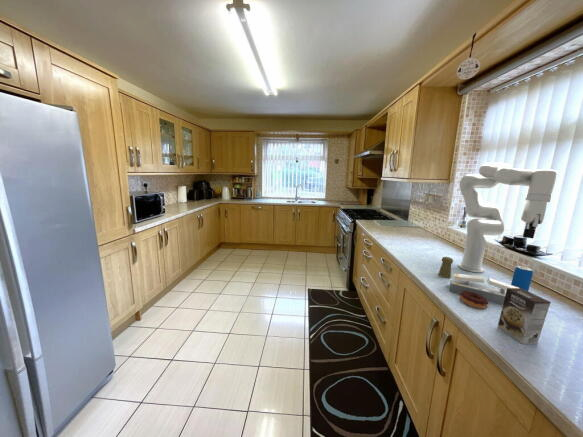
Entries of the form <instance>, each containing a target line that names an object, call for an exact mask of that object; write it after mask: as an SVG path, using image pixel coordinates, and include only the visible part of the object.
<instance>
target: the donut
mask: <svg viewBox="0 0 583 437" xmlns="http://www.w3.org/2000/svg"><path fill="white" fill-rule="evenodd" d="M459 299H460V300H461V301H462V302H463V303H464V304H465V305H467V306H470V307H471V308H475V309H486V308H488V305H489V301H487V299H485V298H484V297H482V296H481V295H479V294H477V293H474V292H469V291H463V292H462V293H461V294H459Z"/></svg>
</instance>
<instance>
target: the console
mask: <svg viewBox="0 0 583 437" xmlns="http://www.w3.org/2000/svg"><path fill="white" fill-rule="evenodd" d="M449 291H450V292H452V293H456V294H459V295H460V294H461V293H462V292H463V291H469V292H474V293H477V294H479V295H481V296H482V297H484V298H485V299H487V301H488V302H491V303H496V304H499V305H502V306H503V303H504V299H505V295H506V291H507V290H504V289H501V288H498V287H494V286H493V287H492V286H488V285H485V284H480V283H477V282H469V281H460V280H455V278H453V277H451V278H450V281H449Z"/></svg>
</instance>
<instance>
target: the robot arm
mask: <svg viewBox="0 0 583 437" xmlns="http://www.w3.org/2000/svg"><path fill="white" fill-rule="evenodd" d="M557 177H558V171H557V170H556V169H555V170H554V169H526V168H525V169H523V168H513V167H512V166H511V165H510V164H508V163H505V162H486V163H484V164H482V165H480V166H479V168H478V174H477V173H470V174H465V175H463V176H462V177H461V179H460V181H459V191H460V192H461V195H462V196H463V199H464V204H465V210H466V213H467V216H468V217H470V218H473V219H470V220H469V221H468V222H467V224H466V232H467V234H466V240H465V244H464V249H463V250H464V251H463V256H462V260H461V262H458V264H457V266H458V267H459V268H460V269H463V270H465V271H468V272H471V273H479V274H480V273H484V272H485V269H484V268H483V267H482V265H483V260H484V255H485V251H486V246H487V240H486V238H485V236H501V235H502V234H504V231H505V224H504V220H503V219H504V218H503V216H502V212H501V209H500V207H499V206H498V205H497V204H496V203H492V202H485V201H483V199H482V195H481V194H480V192H479V191H478V190H476V189H491V188H494V187H496V186H497V185H498V184H504V185H509V186H526V187H528V189H527V192H526V196H525V201H526V202H525V205H524V207H523V211H522V214H521V217H520V219H521V222H525V225H524V231H523V233H522V237H524V238H527V239H534V237H535V235H536V230H537V228H538V226H539V225H542V224H543V222H544V218H545V214H546V211H547V210H546V209H547V203H550V202H551V199H552V196H553V190H554V189H555V188H554V187H555V184H556V181H557Z"/></svg>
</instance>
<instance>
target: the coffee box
mask: <svg viewBox="0 0 583 437" xmlns="http://www.w3.org/2000/svg"><path fill="white" fill-rule="evenodd" d="M550 306H551V301H549V300H547V299H545V298H543V297H541V296H538V295H537V294H535V293H532V292H530V291H526V290H524V289H522V288H520V289H517V288H507V291H506V295H505V299H504V303H503V305H502V308H501V312H500V315H499V319H498V324H497V328H499V329H500V330H501V331H503V332H504V333H506V334H507V335H508V336H510V337H512V338H513V339H515V341H517V342H518V343H520V344H522V345H530V344H531V345H534V344H535V345H537V344H539V340H540V337H541V334H542V330H543V327H544V324H545V322H546V318H547V314H548V312H549V308H550Z"/></svg>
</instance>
